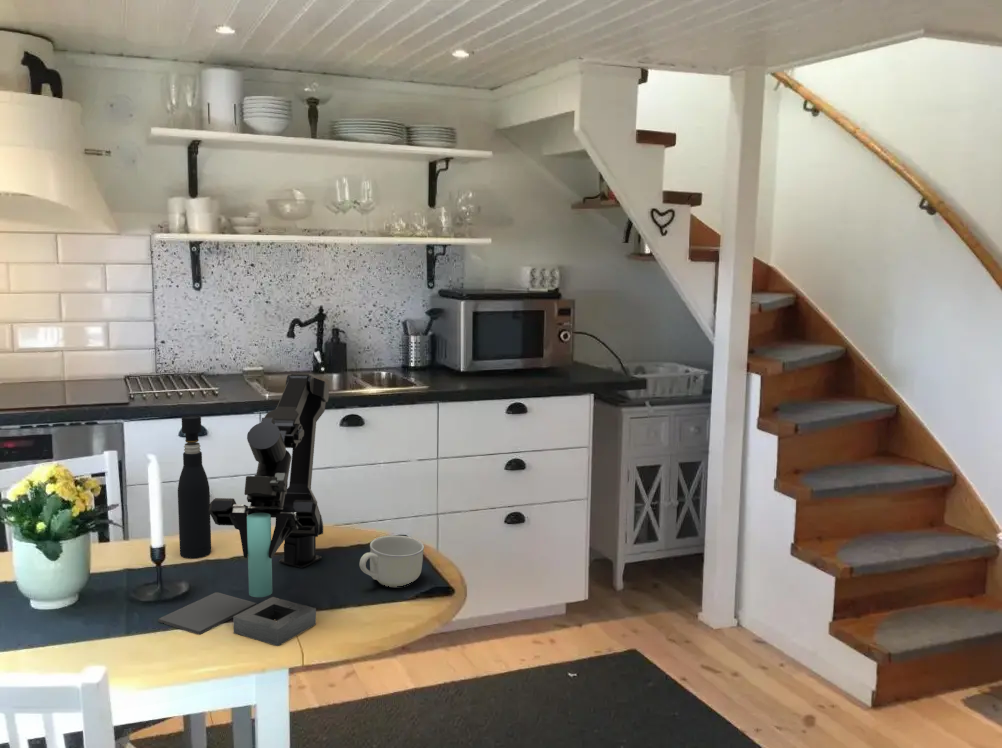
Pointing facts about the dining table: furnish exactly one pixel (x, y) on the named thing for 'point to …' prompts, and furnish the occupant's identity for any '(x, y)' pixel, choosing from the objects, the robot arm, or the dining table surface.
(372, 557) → the teacup
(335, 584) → the dining table surface
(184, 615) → the rubber pad
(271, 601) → the socket block
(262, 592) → the teal peg
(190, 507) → the black bottle
